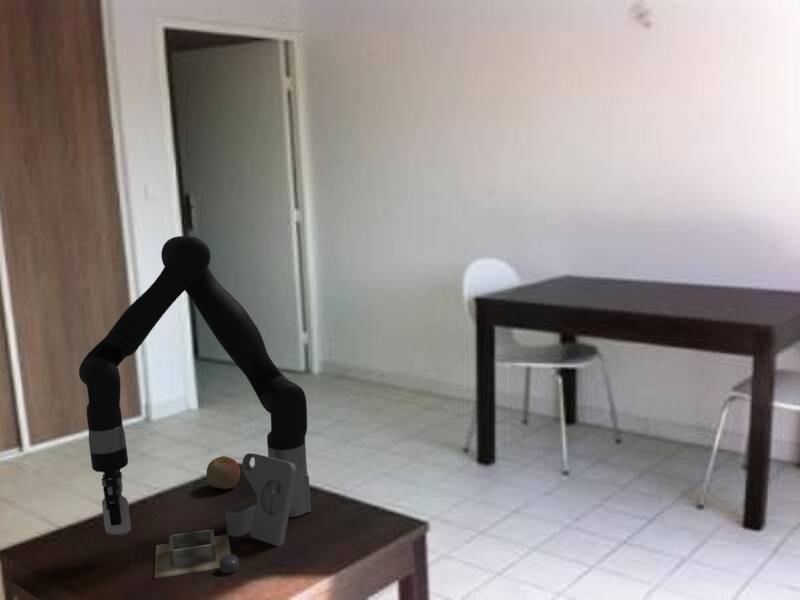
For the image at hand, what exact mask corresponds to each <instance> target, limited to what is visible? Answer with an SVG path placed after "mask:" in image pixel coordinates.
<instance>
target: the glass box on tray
mask: <svg viewBox="0 0 800 600" xmlns="http://www.w3.org/2000/svg"><path fill="white" fill-rule="evenodd" d="M168 540H169V542H168V543H163V544H157V545H156V546H155V560H154V561H155V563H154V580H159V579H165V578H171V577H177V576H184V575H190V574H195V573H202V572H209V571H214V570H215V571H216V570H220V560H221V558H222V557H224V556H226V555H232V552H231V551H232V550H231V545H230V539H229V535H228V534H223V535H217V536H215V530H214V528H211V529H204V530H197V531H190V532H181V533H175V534H170V535H169V537H168Z"/></svg>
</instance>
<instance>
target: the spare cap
mask: <svg viewBox="0 0 800 600" xmlns="http://www.w3.org/2000/svg"><path fill="white" fill-rule="evenodd" d="M239 570H240V559H239V558H238V556H236V554H235V555H234V554H231V555H226V556H224V557H222V558H221V560H220V569H219V571H220V572H221V573H222V574H225V575H228V574H234V573H236V572H238V571H239Z"/></svg>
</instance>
